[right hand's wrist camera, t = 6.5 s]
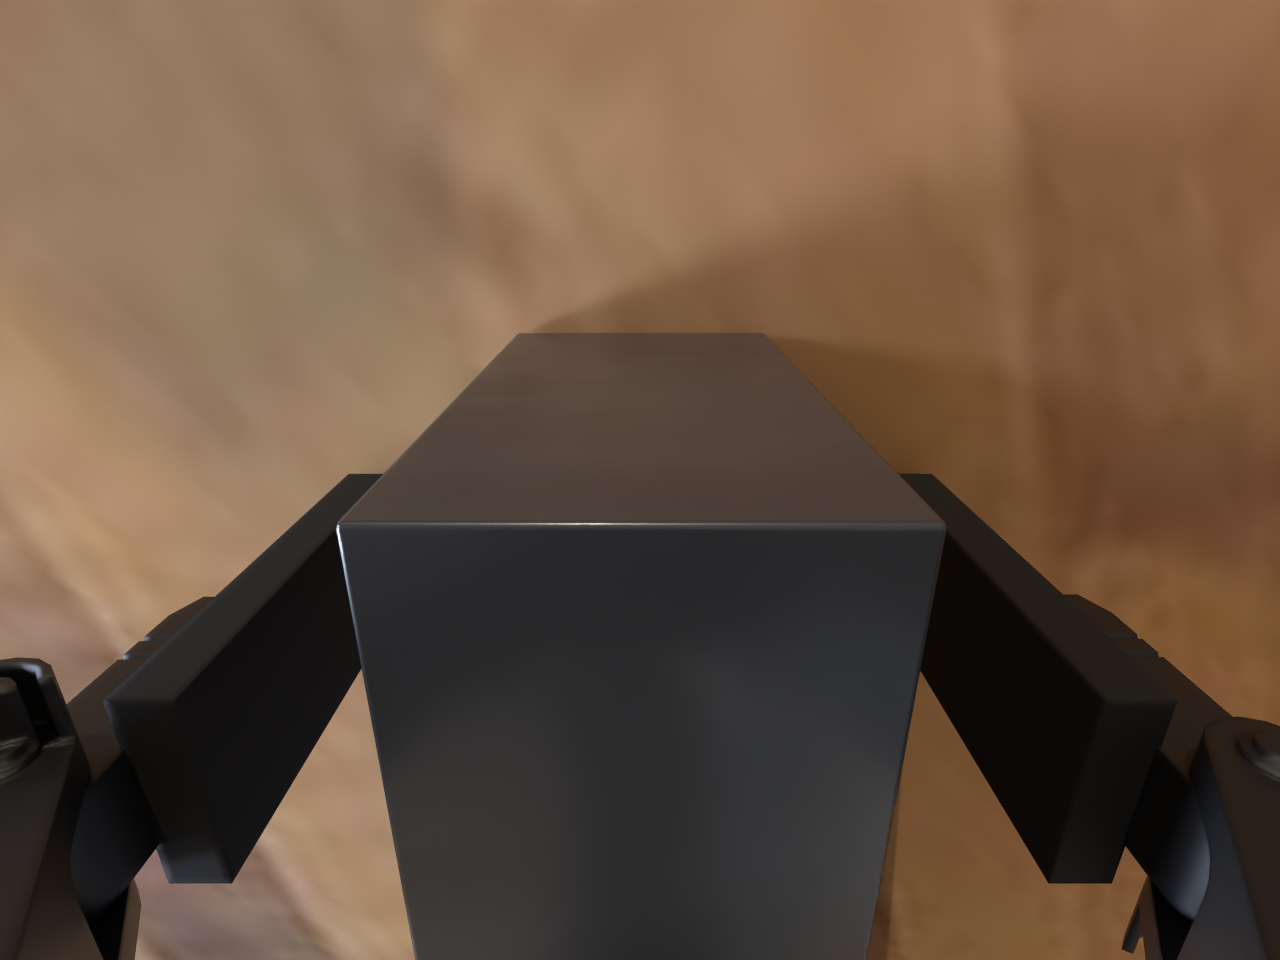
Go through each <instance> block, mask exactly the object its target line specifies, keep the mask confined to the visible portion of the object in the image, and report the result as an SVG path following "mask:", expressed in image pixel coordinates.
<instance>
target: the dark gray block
mask: <svg viewBox="0 0 1280 960" xmlns="http://www.w3.org/2000/svg"><path fill="white" fill-rule="evenodd" d="M336 531H337V536H338V541H339V547H340V552H341V558H342V563H343V569H344V574H345V580H346V585H347V590H348V596H349V601H350V607H351V612H352V618H353V623H354V628H355V634H356V639H357V645H358V650H359V656H360V661H361V666H362V672H363V677H364V683H365V688H366V694H367V699H368V705H369V710H370V715H371V721H372V726H373V732H374V737H375V743H376V748H377V753H378V759H379V764H380V770H381V775H382V781H383V786H384V791H385V797H386V802H387V808H388V813H389V819H390V824H391V830H392V835H393V840H394V846H395V851H396V857H397V862H398V868H399V873H400V878H401V884H402V889H403V895H404V900H405V906H406V911H407V916H408V922H409V927H410V933H411V938H412V944H413V949H414V954H415V960H866V958H867V953H868V948H869V942H870V937H871V931H872V926H873V921H874V915H875V910H876V905H877V899H878V894H879V888H880V883H881V878H882V872H883V867H884V862H885V856H886V851H887V846H888V840H889V835H890V829H891V824H892V819H893V813H894V808H895V803H896V797H897V792H898V786H899V781H900V776H901V770H902V765H903V760H904V754H905V749H906V743H907V738H908V733H909V727H910V722H911V717H912V711H913V706H914V700H915V695H916V690H917V684H918V679H919V674H920V668H921V663H922V657H923V652H924V647H925V641H926V636H927V631H928V625H929V620H930V614H931V609H932V604H933V598H934V593H935V588H936V582H937V577H938V571H939V566H940V561H941V555H942V550H943V545H944V539H945V534H946V525H945V522H944V521H943V520H942V519H941V518H940V517H939V516H938V515H937V514H936V513H935V512H934V511H933V510H932V508H931V507H930V506H929V505H928V504H927V503H926V502H925V501H924V500H923V499H922V498H921V497H920V496H919V495H918V494H917V493H916V492H915V491H914V490H913V489H912V488H911V487H910V486H909V485H908V483H907V482H906V481H905V480H904V479H903V478H902V477H901V476H900V475H899V474H898V473H897V472H896V471H895V470H894V469H893V468H892V467H891V466H890V465H889V464H888V463H887V462H886V461H885V460H884V458H883V457H882V456H881V455H880V454H879V453H878V452H877V451H876V450H875V449H874V448H873V447H872V446H871V445H870V444H869V443H868V442H867V441H866V440H865V439H864V438H863V437H862V436H861V435H860V433H859V432H858V431H857V430H856V429H855V428H854V427H853V426H852V425H851V424H850V423H849V422H848V421H847V420H846V419H845V418H844V417H843V416H842V415H841V414H840V413H839V412H838V411H837V410H836V408H835V407H834V406H833V405H832V404H831V403H830V402H829V401H828V400H827V399H826V398H825V397H824V396H823V395H822V394H821V393H820V392H819V391H818V390H817V389H816V388H815V387H814V386H813V385H812V383H811V382H810V381H809V380H808V379H807V378H806V377H805V376H804V375H803V374H802V373H801V372H800V371H799V370H798V369H797V368H796V367H795V366H794V365H793V364H792V363H791V362H790V361H789V360H788V358H787V357H786V356H785V355H784V354H783V353H782V352H781V351H780V350H779V349H778V348H777V347H776V346H775V345H774V344H773V343H772V342H771V341H770V340H769V339H768V338H767V337H766V336H765V335H764V334H654V333H520V334H517V335H516V336H515V337H514V339H513V340H512V341H511V342H510V343H509V344H508V345H507V346H506V347H505V348H504V349H503V350H502V351H501V352H500V353H499V354H498V355H497V356H496V357H495V358H494V359H493V360H492V361H491V363H490V364H489V365H488V366H487V367H486V368H485V369H484V370H483V371H482V372H481V373H480V374H479V375H478V376H477V377H476V378H475V379H474V380H473V381H472V382H471V383H470V384H469V385H468V387H467V388H466V389H465V390H464V391H463V392H462V393H461V394H460V395H459V396H458V397H457V398H456V399H455V400H454V401H453V402H452V403H451V404H450V405H449V406H448V407H447V408H446V409H445V411H444V412H443V413H442V414H441V415H440V416H439V417H438V418H437V419H436V420H435V421H434V422H433V423H432V424H431V425H430V426H429V427H428V428H427V429H426V430H425V431H424V432H423V433H422V435H421V436H420V437H419V438H418V439H417V440H416V441H415V442H414V443H413V444H412V445H411V446H410V447H409V448H408V449H407V450H406V451H405V452H404V453H403V454H402V455H401V456H400V457H399V459H398V460H397V461H396V462H395V463H394V464H393V465H392V466H391V467H390V468H389V469H388V470H387V471H386V472H385V473H384V474H383V475H382V476H381V477H380V478H379V479H378V480H377V481H376V482H375V484H374V485H373V486H372V487H371V488H370V489H369V490H368V491H367V492H366V493H365V494H364V495H363V496H362V497H361V498H360V499H359V500H358V501H357V502H356V503H355V504H354V505H353V506H352V508H351V509H350V510H349V511H348V512H347V513H346V514H345V515H344V516H343V517H342V518H341V519H340V520H339V521H338V523H337V527H336Z"/></svg>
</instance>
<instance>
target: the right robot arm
mask: <svg viewBox="0 0 1280 960" xmlns="http://www.w3.org/2000/svg"><path fill="white" fill-rule="evenodd" d="M382 475H383V474H348V475H347V476H346V477H345V478H344V479H343V480H342V481H341V482H340V483H338V484H337V485H336V486H335V487H334V488H333V489H332V490H331V491H330V492H329V493H328V494H326V495H325V496H324V497H323V498H322V499H321V500H320V501H319V502H318V503H317V504H316V505H314V506H313V507H312V508H311V509H310V510H309V511H308V512H307V513H306V514H305V515H304V516H303V517H301V518H300V519H299V520H298V521H297V522H296V523H295V524H294V525H293V526H292V527H291V528H289V529H288V530H287V531H286V532H285V533H284V534H283V535H282V536H281V537H280V538H279V539H278V540H276V541H275V542H274V543H273V544H272V545H271V546H270V547H269V548H268V549H267V550H266V551H264V552H263V553H262V554H261V555H260V556H259V557H258V558H257V559H256V560H255V561H254V562H252V563H251V564H250V565H249V566H248V567H247V568H246V569H245V570H244V571H243V572H242V573H241V574H239V575H238V576H237V577H236V578H235V579H234V580H233V581H232V582H231V583H230V584H229V585H227V586H226V587H225V588H224V589H223V590H222V591H221V592H220V593H219V594H218V595H217V596H216V597H203V598H201V599H199V600H197V601H195V602H193V603H191V604H189V605H188V606H186V607H184V608H182V609H180V610H178V611H176V612H175V613H173V614H171V615H169V616H168V617H167V618H166V619H164V620H163V621H162V622H161V623H160V624H159V625H157V626H156V627H155V628H154V629H153V630H152V631H151V632H149V633H148V634H147V635H146V636H145V637H144V641H139V642H138V643H137V644H136V645H134V646H133V647H132V648H131V649H130V650H129V651H128V652H126V653H125V654H124V655H123V660H117V661H116V662H115V663H114V664H113V665H111V666H110V667H109V668H108V669H107V670H106V671H105V672H103V673H102V674H101V675H100V676H99V677H98V678H97V679H95V680H94V681H93V682H92V683H91V684H90V685H88V686H87V687H86V688H85V689H84V690H83V691H82V692H80V693H79V694H78V695H77V696H76V697H75V698H73V699H72V700H71V701H70V702H69V703H68V704H67V705H66V703H65V700H64V698H63V695H62V692H61V690H60V687H59V685H58V682H57V680H56V677H55V674H54V672H53V669H52V667H51V665H49V664H48V663H46V662H44V661H42V660H40V659H34V658H11V659H5V660H0V960H135V952H136V943H137V935H138V927H139V919H140V911H141V902H140V896H139V891H138V888H137V886H136V883H135V880H134V877H135V876H136V874H137V873H138V872H139V870H140V869H141V868H142V866H143V865H144V864H145V862H146V861H147V860H148V858H149V857H150V856H151V854H152V853H153V852H154V850H155V849H157V852H158V854H159V857H160V860H161V863H162V865H163V868H164V871H165V874H166V877H167V879H168V882H169V883H232V882H233V881H234V879H235V877H236V876H237V874H238V872H239V871H240V869H241V867H242V866H243V864H244V862H245V861H246V859H247V857H248V856H249V854H250V852H251V851H252V849H253V847H254V846H255V844H256V842H257V841H258V839H259V837H260V836H261V834H262V832H263V831H264V829H265V827H266V826H267V824H268V823H269V821H270V819H271V818H272V816H273V814H274V813H275V811H276V809H277V808H278V806H279V804H280V803H281V801H282V799H283V798H284V796H285V794H286V793H287V791H288V789H289V788H290V786H291V784H292V783H293V781H294V779H295V778H296V776H297V774H298V773H299V771H300V769H301V768H302V766H303V764H304V763H305V761H306V759H307V758H308V756H309V754H310V753H311V751H312V749H313V748H314V746H315V745H316V743H317V741H318V740H319V738H320V736H321V735H322V733H323V731H324V730H325V728H326V726H327V725H328V723H329V721H330V720H331V718H332V716H333V715H334V713H335V711H336V710H337V708H338V706H339V705H340V703H341V701H342V700H343V698H344V696H345V695H346V693H347V691H348V690H349V688H350V686H351V685H352V683H353V681H354V680H355V678H356V676H357V675H358V673H359V671H360V670H361V668H362V666H361V661H360V656H359V650H358V645H357V639H356V634H355V628H354V623H353V618H352V612H351V607H350V601H349V596H348V590H347V585H346V580H345V574H344V569H343V563H342V558H341V552H340V547H339V541H338V536H337V531H336V527H337V523H338V521H339V520H340V519H341V518H342V517H343V516H344V515H345V514H346V513H347V512H348V511H349V510H350V509H351V508H352V506H353V505H354V504H355V503H356V502H357V501H358V500H359V499H360V498H361V497H362V496H363V495H364V494H365V493H366V492H367V491H368V490H369V489H370V488H371V487H372V486H373V485H374V484H375V482H376V481H377V480H378V479H379V478H380V477H381V476H382ZM899 475H900V476H901V477H902V478H903V479H904V480H905V481H906V482H907V483H908V485H909V486H910V487H911V488H912V489H913V490H914V491H915V492H916V493H917V494H918V495H919V496H920V497H921V498H922V499H923V500H924V501H925V502H926V503H927V504H928V505H929V506H930V507H931V508H932V510H933V511H934V512H935V513H936V514H937V515H938V516H939V517H940V518H941V519H942V520H943V521H944V522H945V525H946V534H945V539H944V545H943V550H942V555H941V561H940V566H939V571H938V577H937V582H936V588H935V593H934V598H933V604H932V609H931V614H930V620H929V625H928V631H927V636H926V641H925V647H924V652H923V657H922V663H921V668H920V671H921V672H922V674H923V676H924V677H925V679H926V681H927V682H928V684H929V686H930V687H931V689H932V691H933V692H934V694H935V696H936V697H937V699H938V701H939V702H940V704H941V706H942V707H943V709H944V710H945V712H946V714H947V715H948V717H949V719H950V720H951V722H952V724H953V725H954V727H955V729H956V730H957V732H958V734H959V735H960V737H961V739H962V740H963V742H964V744H965V745H966V747H967V749H968V750H969V752H970V754H971V755H972V757H973V759H974V760H975V762H976V764H977V765H978V767H979V769H980V770H981V772H982V774H983V775H984V777H985V779H986V780H987V782H988V783H989V785H990V787H991V788H992V790H993V792H994V793H995V795H996V797H997V798H998V800H999V802H1000V803H1001V805H1002V807H1003V808H1004V810H1005V812H1006V813H1007V815H1008V817H1009V818H1010V820H1011V822H1012V823H1013V825H1014V827H1015V828H1016V830H1017V832H1018V833H1019V835H1020V837H1021V838H1022V840H1023V842H1024V843H1025V845H1026V847H1027V848H1028V850H1029V852H1030V853H1031V855H1032V856H1033V858H1034V860H1035V861H1036V863H1037V865H1038V866H1039V868H1040V870H1041V871H1042V873H1043V875H1044V876H1045V878H1046V880H1047V881H1048V883H1112V881H1113V878H1114V876H1115V873H1116V870H1117V867H1118V865H1119V862H1120V859H1121V856H1122V854H1123V851H1124V848H1125V846H1126V847H1127V849H1128V850H1129V851H1130V852H1131V854H1132V855H1133V856H1134V858H1135V859H1136V860H1137V862H1138V863H1139V864H1140V866H1141V867H1142V868H1143V870H1144V871H1145V872H1146V874H1147V878H1146V880H1145V883H1144V886H1143V888H1142V891H1141V893H1140V896H1139V899H1138V901H1137V904H1136V906H1135V909H1134V911H1133V914H1132V917H1131V919H1130V922H1129V924H1128V927H1127V929H1126V932H1125V935H1124V940H1123V945H1122V949H1123V950H1125V951H1127V952H1130V953H1132V954H1133V952H1134V950H1135V947H1136V945H1137V942H1138V940H1139V938H1141V937H1143V941H1144V949H1145V957H1146V960H1280V726H1278V725H1275V724H1272V723H1269V722H1266V721H1261V720H1255V719H1249V718H1244V717H1232V716H1231V715H1230V714H1229V713H1228V712H1226V711H1225V710H1224V709H1223V708H1222V707H1221V706H1219V705H1218V704H1217V703H1216V702H1215V701H1214V700H1212V699H1211V698H1210V697H1209V696H1208V695H1207V694H1205V693H1204V692H1203V691H1202V690H1201V689H1200V688H1199V687H1197V686H1196V685H1195V684H1194V683H1193V682H1192V681H1190V680H1189V679H1188V678H1187V677H1186V676H1185V675H1183V674H1182V673H1181V672H1180V671H1179V670H1178V669H1176V668H1175V667H1174V666H1173V665H1172V664H1171V663H1170V662H1168V661H1167V660H1166V659H1165V658H1164V657H1159V656H1158V652H1157V651H1156V650H1154V649H1153V648H1152V647H1151V646H1150V645H1149V644H1147V643H1146V642H1145V641H1144V640H1143V639H1138V638H1137V634H1136V633H1135V632H1134V631H1132V630H1131V629H1130V628H1129V627H1128V626H1127V625H1125V624H1124V623H1123V622H1122V621H1121V620H1120V619H1118V618H1117V617H1116V616H1115V615H1114V614H1113V613H1111V612H1109V611H1107V610H1105V609H1104V608H1102V607H1100V606H1098V605H1096V604H1094V603H1092V602H1090V601H1089V600H1087V599H1085V598H1083V597H1081V596H1079V595H1063V594H1062V593H1061V592H1060V591H1059V590H1057V589H1056V588H1055V587H1054V586H1053V585H1052V584H1051V583H1050V582H1049V581H1048V580H1047V579H1045V578H1044V577H1043V576H1042V575H1041V574H1040V573H1039V572H1038V571H1037V570H1036V569H1035V568H1033V567H1032V566H1031V565H1030V564H1029V563H1028V562H1027V561H1026V560H1025V559H1024V558H1023V557H1022V556H1020V555H1019V554H1018V553H1017V552H1016V551H1015V550H1014V549H1013V548H1012V547H1011V546H1010V545H1008V544H1007V543H1006V542H1005V541H1004V540H1003V539H1002V538H1001V537H1000V536H999V535H998V534H996V533H995V532H994V531H993V530H992V529H991V528H990V527H989V526H988V525H987V524H986V523H985V522H983V521H982V520H981V519H980V518H979V517H978V516H977V515H976V514H975V513H974V512H973V511H971V510H970V509H969V508H968V507H967V506H966V505H965V504H964V503H963V502H962V501H961V500H959V499H958V498H957V497H956V496H955V495H954V494H953V493H952V492H951V491H950V490H949V489H948V488H946V487H945V486H944V485H943V484H942V483H941V482H940V481H939V480H938V479H937V478H936V477H934V476H933V475H932V474H899Z"/></svg>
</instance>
